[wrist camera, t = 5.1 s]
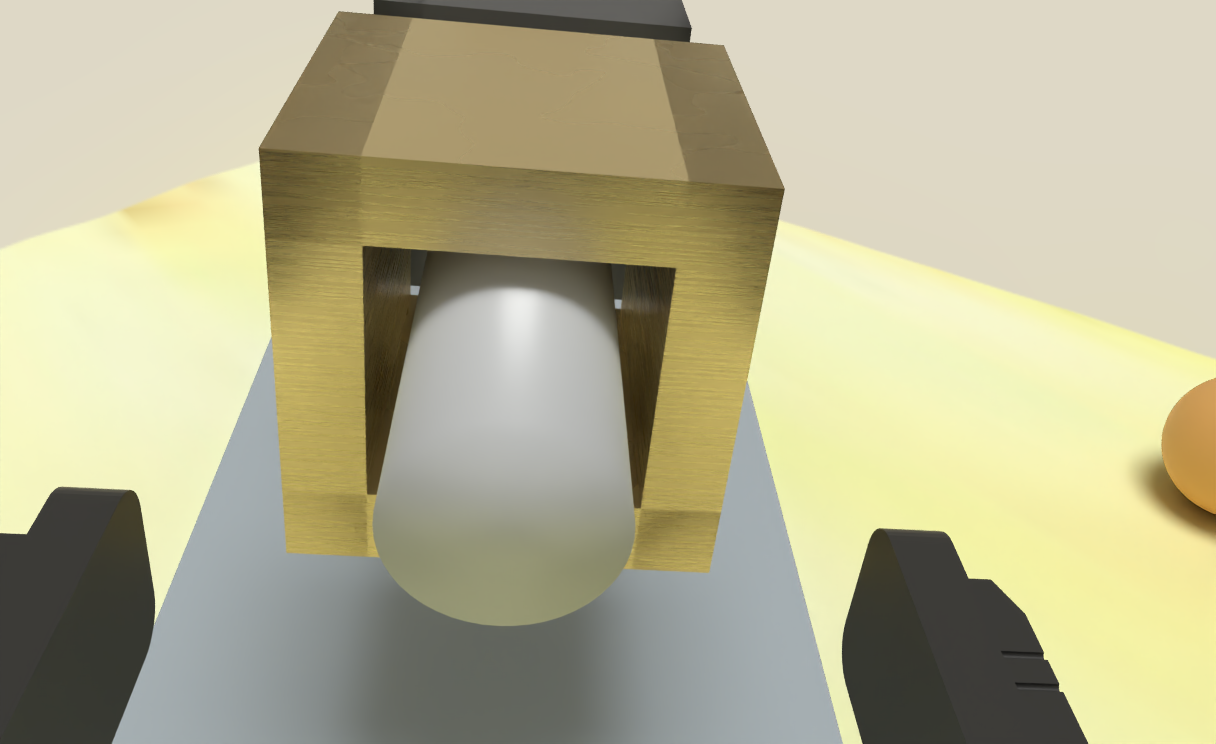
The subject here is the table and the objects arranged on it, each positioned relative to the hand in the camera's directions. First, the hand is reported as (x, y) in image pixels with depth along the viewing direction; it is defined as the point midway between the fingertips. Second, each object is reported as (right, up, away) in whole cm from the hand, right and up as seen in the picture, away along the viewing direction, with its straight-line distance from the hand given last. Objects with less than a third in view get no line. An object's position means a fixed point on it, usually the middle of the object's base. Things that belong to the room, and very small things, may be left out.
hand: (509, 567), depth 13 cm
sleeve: (-1, +1, +7) cm, 7 cm away
